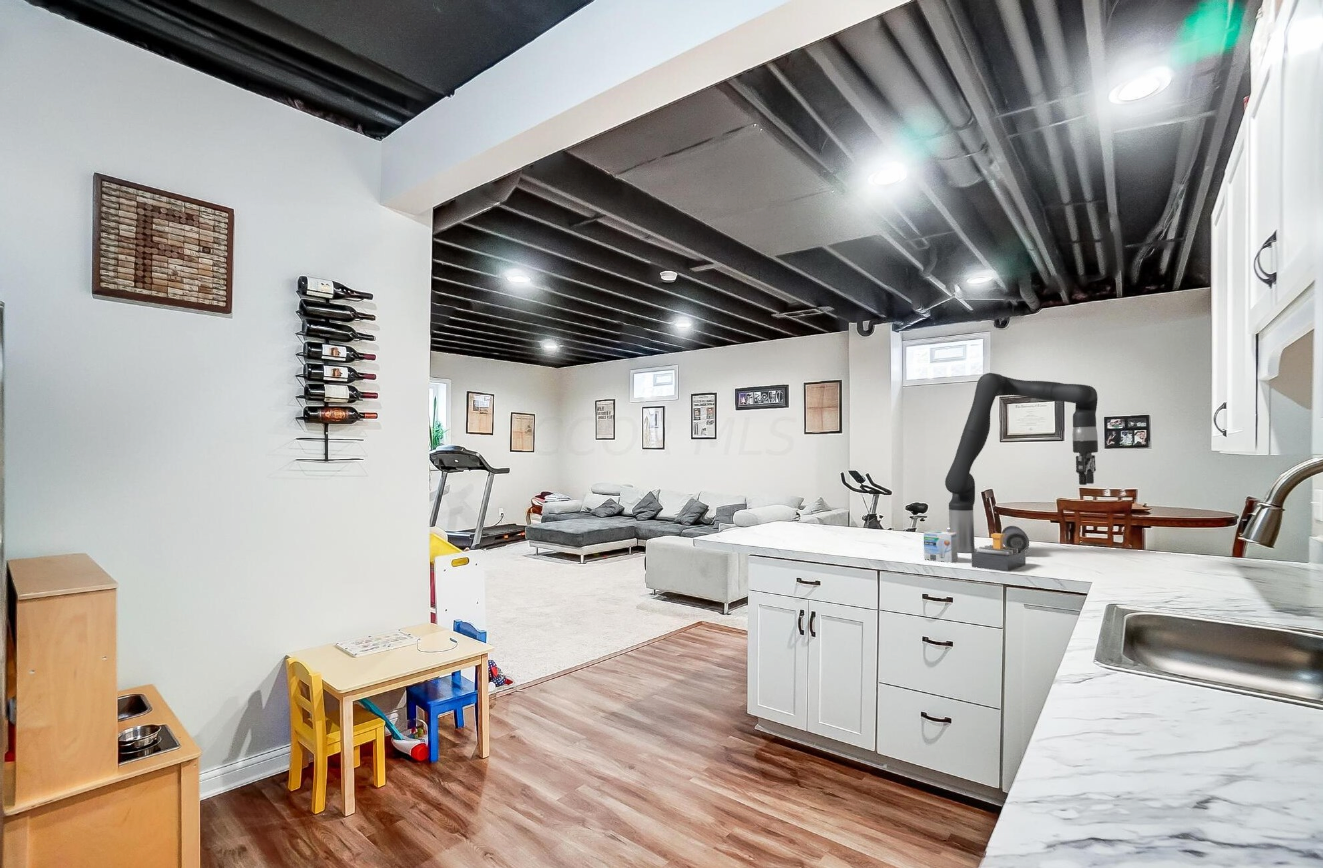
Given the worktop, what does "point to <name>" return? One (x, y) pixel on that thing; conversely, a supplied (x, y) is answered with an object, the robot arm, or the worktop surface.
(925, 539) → the light bulb box
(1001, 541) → the breaker handle
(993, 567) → the breaker box
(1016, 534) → the bluetooth speaker
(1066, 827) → the worktop surface
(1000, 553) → the dressed cables
